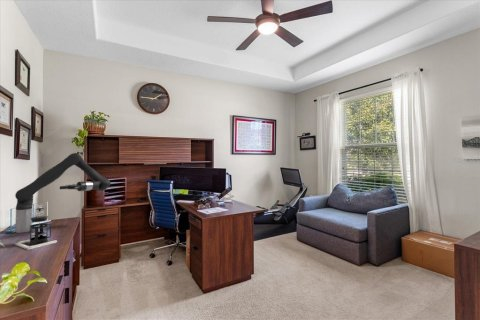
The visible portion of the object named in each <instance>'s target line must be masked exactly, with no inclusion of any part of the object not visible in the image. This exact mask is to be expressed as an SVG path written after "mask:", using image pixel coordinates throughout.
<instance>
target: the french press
mask: <svg viewBox="0 0 480 320" xmlns="http://www.w3.org/2000/svg"><path fill="white" fill-rule="evenodd" d="M35 210H37V211H38V212H39V214H38V215H37V216H34V217H33V216H32V218H30V219H31V221H32V223H34V224H32V225H31V226H30V231H29V239H30V242H28V243H29V244H28V246H34V245H38V244H42V243H46V242H49V240H48V239H49V238H51V237H52V223H47V221H48V218H49V216H48V215H41V211H42V210H44V208H42V207H38V208H35ZM43 222H44V223H43ZM44 228H46V231H44ZM32 229H33V230H34V232H32ZM48 231H49V232H48ZM48 234H49V236H48Z"/></svg>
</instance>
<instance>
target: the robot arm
mask: <svg viewBox="0 0 480 320" xmlns="http://www.w3.org/2000/svg"><path fill="white" fill-rule="evenodd" d="M73 166H76V167H77V168H79V169H80V170H81V171H83V172H84V173H85V174H86V176H87V177H89V179H91V180H90V181H87V180H85V181H78V182H76V183H72V184H65V185H60V186H59V190H76V191H78V192H86V191H87V192H88V191H91V190H92V191H94V190H97V191H106V190H107V189H108V188H109V187H110V186H111V181H110V180H109V179H108V178H107V177H105V176H102V175H101V174H100V173H99V172H98V171H96V169H94V168H93V167H91V166H90V165H89V164H88V163H87V162H86V160H84V158H83V157H82V155H81V154H80V153H76V152H73V153H71V154H69V155H67V156H66V157H65V158H64V159H63V160H61V162H58V163H57V164H55V165H54V166H53V167H51V168H49V169H47V170H46V171H45V172H43V173H42V174H41V175H39V176H38V177H37V178H36V179H35V180H34V181H32V182H30V183H29V184H28V185H26V186H24V187H22V188H20V189H18V190H17V191H16V192H15V195H14V196H15V199H16V206H15V229H14V231H15V233H17V234H18V233H19V234H21V233H29V232H30V226H31V225H33V222H32V221H31V219H30V218H33V204H34V195H35V194H36V193H37V192H39V191H40V190H42V189H43V188H45V187H47V186H49V185H50V184H52V183H53V182H55V181H56V180H59V178H60V177H61V176H63V174H64V173H66V171H67V170H68V169H70V168H71V167H73Z"/></svg>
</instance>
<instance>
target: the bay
mask: <svg viewBox="0 0 480 320" xmlns="http://www.w3.org/2000/svg"><path fill="white" fill-rule="evenodd" d="M57 242H58V240H56V239H55V240H51V241H48V242H46V243H42V244H38V245H26V244H27V243H30V238H29V239H25V240H21V241H16V242H14V246H18V248H22V249H24V250H32V249H37V248H39V247H44V246H49V245H51V244H56V243H57Z"/></svg>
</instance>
